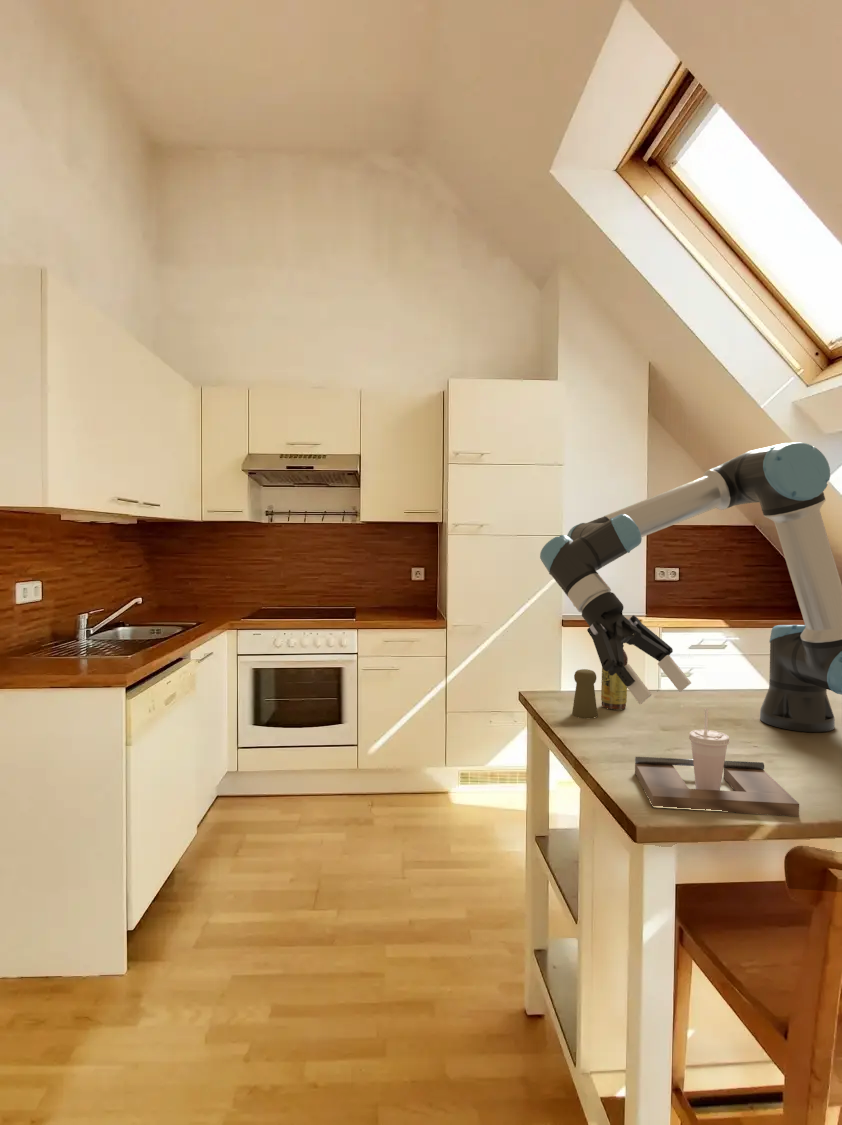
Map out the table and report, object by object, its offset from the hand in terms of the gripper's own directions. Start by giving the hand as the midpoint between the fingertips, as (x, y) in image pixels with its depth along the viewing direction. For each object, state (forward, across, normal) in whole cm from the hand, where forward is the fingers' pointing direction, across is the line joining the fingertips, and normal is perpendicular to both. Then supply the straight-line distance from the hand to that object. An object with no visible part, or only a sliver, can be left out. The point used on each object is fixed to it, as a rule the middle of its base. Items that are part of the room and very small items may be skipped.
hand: (666, 693), depth 121 cm
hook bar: (+12, -5, -7) cm, 15 cm away
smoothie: (+17, 0, -6) cm, 17 cm away
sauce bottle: (-13, -35, -35) cm, 51 cm away
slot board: (+17, 0, -5) cm, 18 cm away
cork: (-13, -24, -36) cm, 45 cm away
